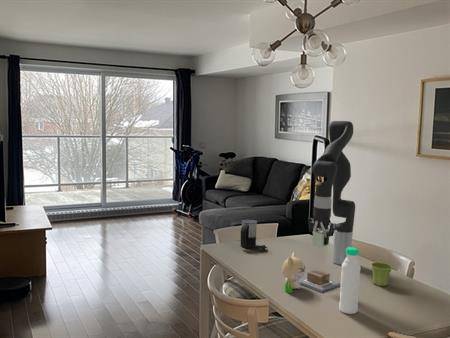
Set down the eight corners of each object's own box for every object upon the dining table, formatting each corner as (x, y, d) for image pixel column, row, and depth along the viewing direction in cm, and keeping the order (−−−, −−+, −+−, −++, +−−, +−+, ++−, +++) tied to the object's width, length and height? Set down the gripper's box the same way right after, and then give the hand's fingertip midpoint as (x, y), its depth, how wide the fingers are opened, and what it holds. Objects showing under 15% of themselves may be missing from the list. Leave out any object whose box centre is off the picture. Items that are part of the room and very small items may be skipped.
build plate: (315, 276, 212) (315, 273, 212) (340, 285, 202) (340, 282, 202) (295, 282, 203) (296, 279, 203) (321, 292, 193) (321, 289, 193)
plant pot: (390, 282, 209) (392, 264, 208) (391, 289, 200) (392, 270, 199) (369, 279, 212) (371, 261, 211) (369, 285, 203) (370, 267, 202)
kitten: (300, 295, 188) (302, 261, 187) (277, 291, 192) (278, 257, 190) (306, 284, 202) (308, 251, 201) (284, 280, 206) (286, 248, 204)
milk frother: (241, 243, 266) (242, 218, 264) (268, 245, 263) (269, 220, 262) (238, 250, 252) (239, 224, 250) (266, 252, 249) (267, 226, 248)
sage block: (319, 243, 204) (319, 230, 203) (328, 245, 200) (329, 232, 200) (312, 245, 201) (313, 232, 200) (321, 247, 197) (322, 234, 196)
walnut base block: (316, 277, 207) (317, 269, 207) (329, 282, 202) (329, 273, 202) (307, 281, 203) (307, 272, 202) (319, 285, 197) (320, 276, 197)
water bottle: (336, 307, 178) (340, 245, 175) (353, 307, 178) (357, 245, 176) (342, 314, 171) (346, 250, 168) (360, 314, 172) (364, 251, 169)
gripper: (341, 208, 196) (338, 246, 198) (314, 202, 207) (312, 238, 208) (331, 209, 191) (328, 248, 193) (304, 204, 202) (302, 241, 203)
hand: (320, 243), depth 201 cm, fingers closed on sage block, 5 cm apart
